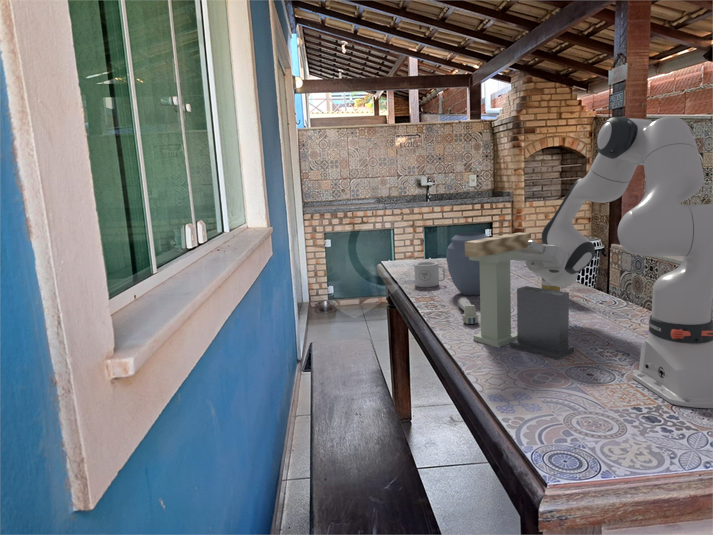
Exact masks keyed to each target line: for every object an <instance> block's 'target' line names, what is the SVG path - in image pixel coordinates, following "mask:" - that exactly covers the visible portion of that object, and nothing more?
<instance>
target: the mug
mask: <svg viewBox="0 0 713 535" xmlns="http://www.w3.org/2000/svg"><path fill="white" fill-rule="evenodd" d="M413 266H414V267H413V268H414V286H416V287H419V288H433V287H437V286H439V285H440V282H443V281H445V279H446V269H445V266H442V265H439V262H436V261H427V260H426V261H418V262H415V263H414V265H413ZM439 268H441V269H442V276H443V278H442V279H441V278H440V276H439V275H440V274H439V270H440V269H439Z"/></svg>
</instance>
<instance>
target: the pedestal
mask: <svg viewBox="0 0 713 535" xmlns="http://www.w3.org/2000/svg"><path fill="white" fill-rule="evenodd" d="M520 258H521V251H512V250H511V251H506V252H501V253H496V254H491V255H487V256H482V257H477V258H476V257H469V260H474V261H479V263H480V294H479V302H480V303H479V304H480V305H479V306H480V310H479V311H480V313H479V314H480V332H479V333H477V334H474V335H473V341H474V340H475V342H477V341H478V342H477V343H481V344H484V345H488V346H492V347H496V348H500V347H504V346H506V345H508V344H511V342H513V341H516V340H517V334H516V333H512V323H511V322H512V320H511V319H512V311H511V310H512V307H511V306H512V305H511V301H512V300H511V293H512V292H511V290H512V289H511V288H512V287H511V261H516V260H515V259H520Z"/></svg>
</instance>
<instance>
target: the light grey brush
mask: <svg viewBox="0 0 713 535" xmlns="http://www.w3.org/2000/svg"><path fill="white" fill-rule="evenodd" d="M457 307H458V308H459V309H461V310H463V311H464V312H463V314H461V317H462V319H463V320H462V323H463V322H464V323H463V324H467V325H473V324H475V325H476V324H478V322H479V316H480V315H479V314H480V313H477V308H476V305H475V304H472V303H471V300H470V299H468V297H466V296H461V297H459V298H458V299H457Z"/></svg>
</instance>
